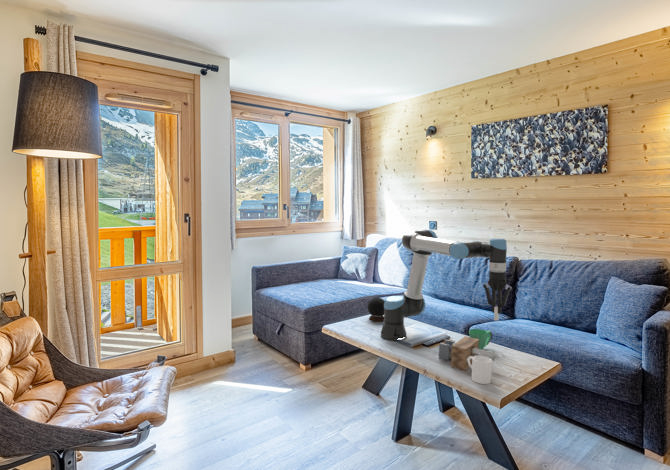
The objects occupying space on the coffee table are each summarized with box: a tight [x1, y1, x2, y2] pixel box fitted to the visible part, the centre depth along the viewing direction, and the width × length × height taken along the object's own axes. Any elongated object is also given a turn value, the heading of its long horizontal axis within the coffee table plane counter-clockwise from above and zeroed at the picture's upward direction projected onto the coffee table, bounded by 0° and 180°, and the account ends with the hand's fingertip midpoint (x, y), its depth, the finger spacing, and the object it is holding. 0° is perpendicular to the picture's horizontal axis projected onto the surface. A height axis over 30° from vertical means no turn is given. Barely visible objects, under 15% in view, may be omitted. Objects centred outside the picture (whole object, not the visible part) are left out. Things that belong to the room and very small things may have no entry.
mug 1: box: [468, 328, 493, 350], centre depth 213 cm, size 15×10×10 cm
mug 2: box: [467, 356, 493, 385], centre depth 177 cm, size 8×12×10 cm, turn 32°
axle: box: [451, 342, 496, 361], centre depth 192 cm, size 20×4×4 cm, turn 52°
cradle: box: [438, 339, 456, 362], centre depth 200 cm, size 5×8×8 cm, turn 141°
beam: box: [450, 335, 479, 372], centre depth 194 cm, size 7×18×10 cm, turn 142°
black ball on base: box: [367, 297, 385, 323], centre depth 266 cm, size 13×13×15 cm
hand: (496, 319), depth 188 cm, fingers closed
